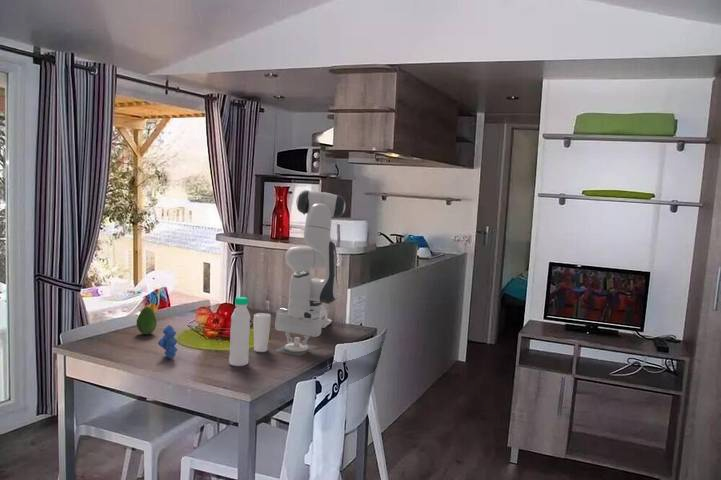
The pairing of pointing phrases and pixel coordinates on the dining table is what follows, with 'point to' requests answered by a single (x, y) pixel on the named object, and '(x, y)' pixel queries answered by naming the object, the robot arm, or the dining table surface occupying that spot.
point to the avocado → (146, 321)
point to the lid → (296, 346)
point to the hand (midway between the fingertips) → (296, 343)
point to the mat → (283, 350)
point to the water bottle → (240, 333)
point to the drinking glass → (261, 331)
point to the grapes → (169, 342)
